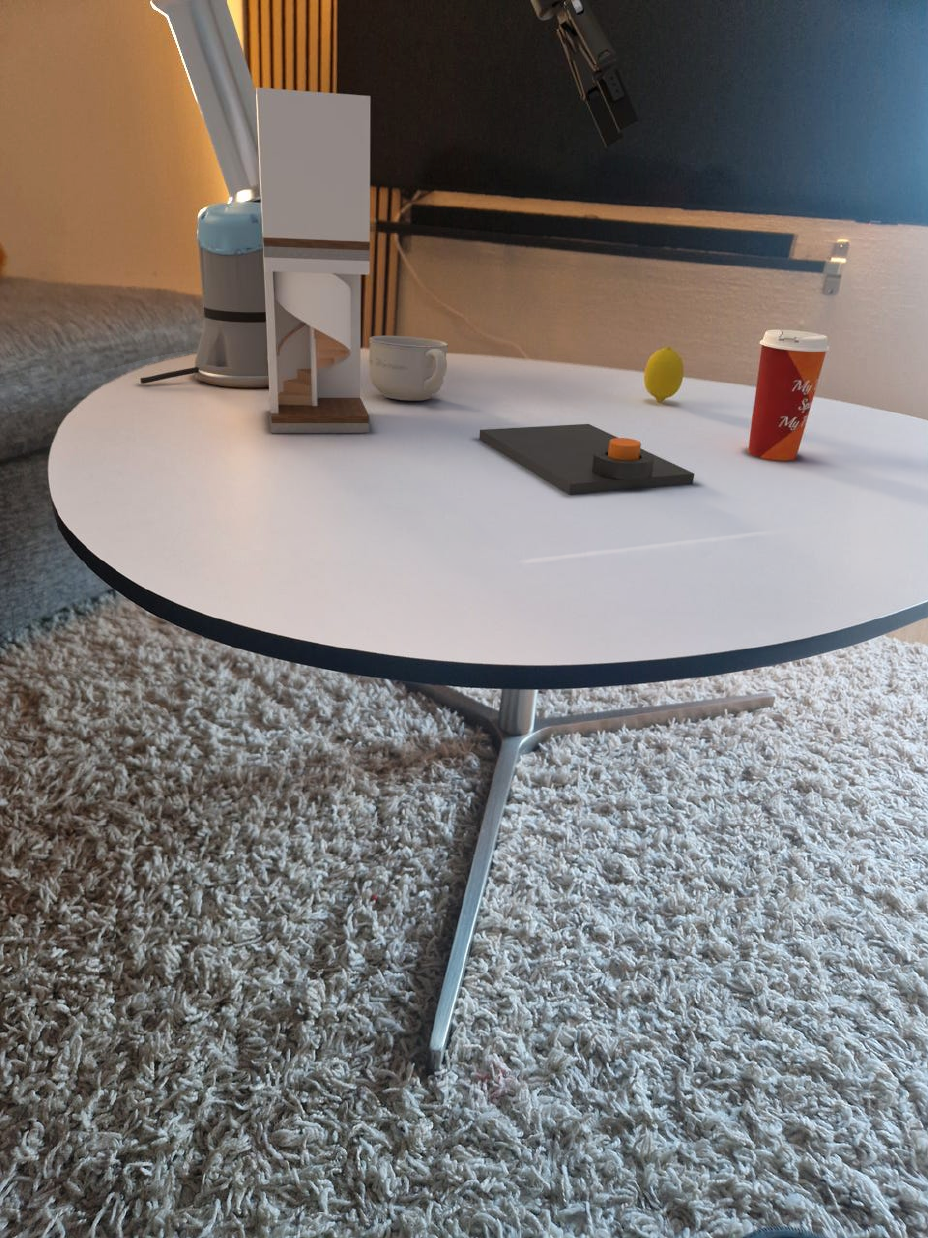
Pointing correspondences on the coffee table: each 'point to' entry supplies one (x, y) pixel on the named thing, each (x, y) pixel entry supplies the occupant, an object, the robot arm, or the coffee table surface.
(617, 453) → the button
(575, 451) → the scale
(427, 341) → the teacup
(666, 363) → the lemon
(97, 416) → the coffee table surface
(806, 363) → the paper cup
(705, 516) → the coffee table surface
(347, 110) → the spiral staircase model
